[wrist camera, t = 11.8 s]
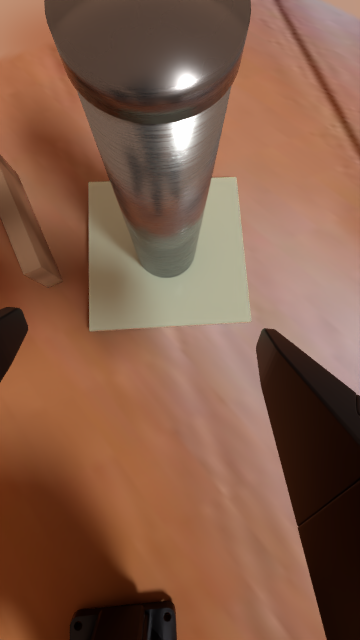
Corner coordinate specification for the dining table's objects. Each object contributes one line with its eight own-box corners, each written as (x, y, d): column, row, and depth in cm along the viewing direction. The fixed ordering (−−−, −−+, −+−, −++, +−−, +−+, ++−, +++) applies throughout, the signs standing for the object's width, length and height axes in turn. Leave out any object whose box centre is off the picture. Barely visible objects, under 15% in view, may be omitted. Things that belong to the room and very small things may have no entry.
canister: (179, 289, 18) (196, 121, 5) (124, 262, 18) (3, 33, 5) (206, 237, 18) (282, -28, 6) (153, 212, 19) (109, -103, 6)
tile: (249, 322, 18) (251, 321, 18) (91, 331, 18) (89, 330, 17) (234, 181, 20) (236, 176, 19) (90, 186, 19) (88, 182, 19)
